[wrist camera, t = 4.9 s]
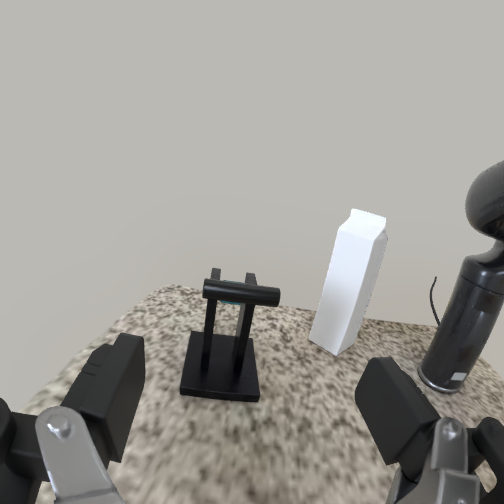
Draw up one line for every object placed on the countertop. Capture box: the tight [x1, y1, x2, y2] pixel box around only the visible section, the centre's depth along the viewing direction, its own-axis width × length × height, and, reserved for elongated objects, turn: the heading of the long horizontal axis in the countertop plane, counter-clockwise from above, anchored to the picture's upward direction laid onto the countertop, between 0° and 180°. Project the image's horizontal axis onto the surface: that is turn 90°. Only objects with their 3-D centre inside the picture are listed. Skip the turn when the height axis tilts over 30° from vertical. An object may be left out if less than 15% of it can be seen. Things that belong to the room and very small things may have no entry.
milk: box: [308, 208, 388, 356], centre depth 41 cm, size 6×6×22 cm
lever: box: [202, 278, 280, 307], centre depth 26 cm, size 13×6×2 cm, turn 4°
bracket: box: [180, 268, 260, 402], centre depth 32 cm, size 12×9×13 cm
